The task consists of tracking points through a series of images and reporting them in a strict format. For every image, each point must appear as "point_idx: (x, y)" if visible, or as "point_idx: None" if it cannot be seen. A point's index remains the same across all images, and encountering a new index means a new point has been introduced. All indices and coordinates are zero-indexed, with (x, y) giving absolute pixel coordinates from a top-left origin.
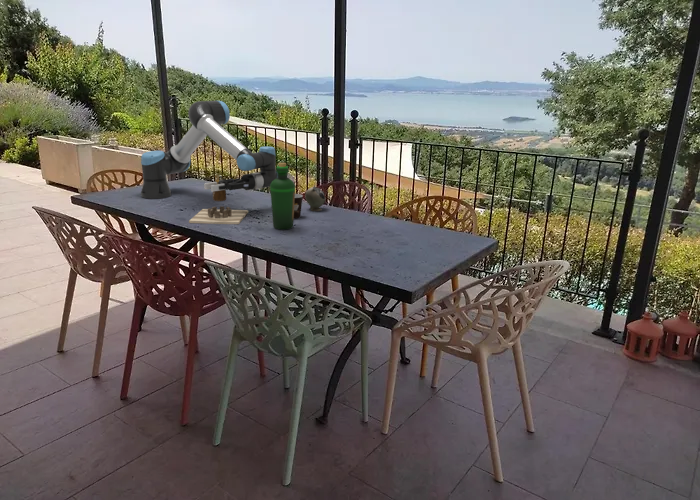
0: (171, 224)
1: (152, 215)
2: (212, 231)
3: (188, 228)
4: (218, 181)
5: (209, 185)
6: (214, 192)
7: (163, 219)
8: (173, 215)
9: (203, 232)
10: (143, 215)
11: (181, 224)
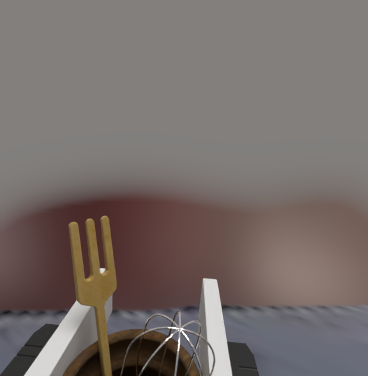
0: (190, 307)
1: (333, 324)
2: (2, 340)
3: (112, 313)
4: (82, 298)
5: (203, 325)
6: (127, 371)
7: (263, 320)
8: (317, 372)
9: (33, 316)
10: (338, 309)
11: (169, 323)
